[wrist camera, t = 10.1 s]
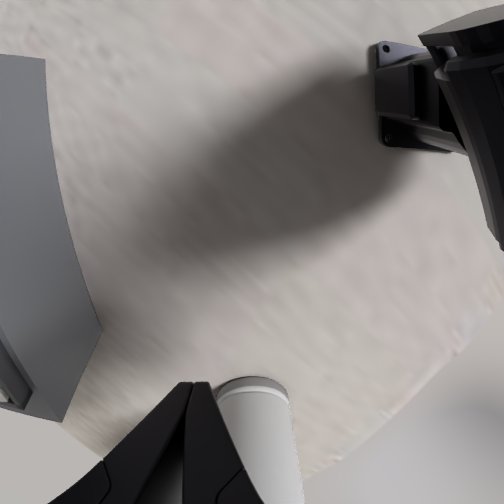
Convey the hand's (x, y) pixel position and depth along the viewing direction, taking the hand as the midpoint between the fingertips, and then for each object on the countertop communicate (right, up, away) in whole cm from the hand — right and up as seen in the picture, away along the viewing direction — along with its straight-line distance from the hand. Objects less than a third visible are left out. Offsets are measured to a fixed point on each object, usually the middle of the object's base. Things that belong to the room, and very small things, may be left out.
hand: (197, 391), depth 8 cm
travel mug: (+1, -9, +18) cm, 20 cm away
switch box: (-15, +6, +9) cm, 19 cm away
